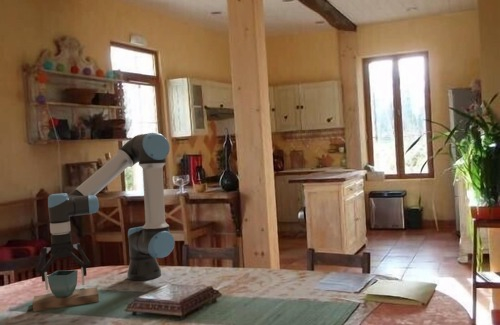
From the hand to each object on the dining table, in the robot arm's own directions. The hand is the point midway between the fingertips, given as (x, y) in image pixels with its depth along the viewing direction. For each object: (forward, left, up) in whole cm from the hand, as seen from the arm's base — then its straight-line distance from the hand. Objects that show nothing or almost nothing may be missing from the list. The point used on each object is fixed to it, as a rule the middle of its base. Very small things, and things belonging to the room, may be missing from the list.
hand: (65, 286), depth 221 cm
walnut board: (0, 0, -6) cm, 6 cm away
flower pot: (+1, 0, -3) cm, 3 cm away
